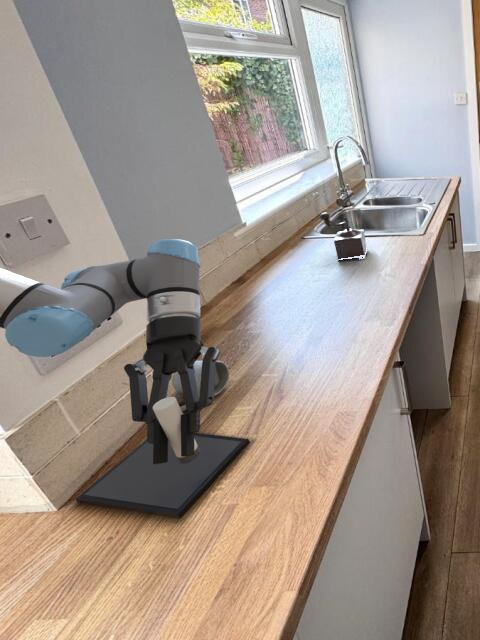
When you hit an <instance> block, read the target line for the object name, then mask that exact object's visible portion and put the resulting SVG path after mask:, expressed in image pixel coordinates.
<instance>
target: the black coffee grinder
mask: <svg viewBox="0 0 480 640" xmlns="http://www.w3.org/2000/svg"><path fill="white" fill-rule="evenodd" d="M330 216H331V214H330V213H329V212H326V211H325V212H322V213H321V214H320V215H319V219H320V220H321V221H322V222H323V223H324V225H325V226H327V227H328V228H335V227H339V226H340V227H341V226H343V225H345V227H346V228H345V229H344V230H342V231H338V232H337V233H336V235H335V237H334V239H333V243H334V247H335V251H336V257H337V261H338V263H346V262H355V261H362V260H361V259H360V260H359V258H352V259H343V260H338V259H341V258H348V257H354V256H360V255H365V252H366V247H367V248H368V246H367V240H366V234H365V230H364V228H362V229H355V228H351V226H349V220H348V217H347V216H345V217H343V220H344V221H342V222H339V223H335V224H331V223H332V221H331V220H330V219H331V217H330ZM362 258H363V257H362Z"/></svg>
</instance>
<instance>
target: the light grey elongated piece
mask: <svg viewBox="0 0 480 640" xmlns="http://www.w3.org/2000/svg"><path fill="white" fill-rule="evenodd" d="M180 407H181V406H180V405H179V401H178V402H177V400H176V398H175V397H173V396H166V398H164V399H162V400H160V401H158V402H157V403H155V404H154V406H153V410H154V412H155V414H156V416H157V418H158V420H159V422H160V424H161V426H162V428H163V430H164V432H165V434H166V436H167V438H168V440H169V442H170V444H171V446H172V448H173V450H174V452H175V454H176V456H177V458H178V460H179V462H180V463H182V464H186V463H189V462H191V461H193V460H195V459H196V458H197V457H198V456H199V455H200V449H199V447H198V445H197V443H196V441H195V439H194V455H191V456H183V457H181V415H182V414H184V412H183V411H181V408H180Z"/></svg>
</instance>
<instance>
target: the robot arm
mask: <svg viewBox="0 0 480 640" xmlns="http://www.w3.org/2000/svg"><path fill="white" fill-rule="evenodd" d="M147 249H148V250H147V252H146V256H143V257H142V256H141V257H138V258H135V259H130V260H124V261H119V262H113V263H107V264H102V265H91V266H88V267H86V268H83V269H78V270H74V271H71V272H69V273H68V274H67V275H66V276H64V281H63V282H62V283H61V286H60V289H59V288H57V287H54V286H51V285H48V284H45V283H44V282H43V283H42V282H40V281H38V280H34V279H32V278H29V277H27V276H24V275H21V274H19V273H15V272H12V271H9V270H7V269H4V268H2V267H0V329H3V330H5V331H4V337H5V339H6V342H7V343H8V345H10V346H11V347H14V348H15V349H17V351H18V352H19V353H21V354H24V355H26V356H31V357H36V358H47V357H48V358H49V357H54V356H58V355H61V354H63V353H65V352H67V351H68V350H70V349H72V348H73V347H75V346H76V345H78V344H79V343H81V342H82V341H85V339H86V338H87V337H89V336H90V335H91V334H92V333H93V332H94V331H95V330H96V328H98V327H100V325H102V324H103V323H104V322H105V321H106V320H108V319H109V318H111V316H112V315H114V314H115V313H116V312H117V311H119V310H120V309H121V308H122V307H123V306H125V305H126V304H129V303H132V302H136V301H139V300H145V299H146V321H147V322H148V323H147V324H146V328H145V329H146V330H145V335H146V336H145V345H146V350H145V352H144V353H143V355H142V358H141V359H139V360H137V361H136V362H133V363H127V364H125V365H124V367H123V371H125V373H126V375H127V377H128V380H129V394H130V395H129V396H130V407H131V408H130V409H131V420H132V421H133V422H138V423H145V424H146V440H147V442H148V444H152V443H153V464H161V463H165V462H168V438H167V436H166V434H165V432H164V430H163V428H162V426H161V424H160V422H159V420H158V418H157V416H156V414H155V412H154V410H153V406H154V404H155V403H157V402H158V401H160V400H162V399H164V398H167V397H168V389H169V386H170V385H169V384H170V382H171V381H172V378H173V375H174V373H175V372H178V374H179V375H180V380H181V385H182V390H183V394H182V395H183V400H184V405H185V406H186V410H184V411H183V412H186V413H183V414H182V415H181V457H183V456H191V455H194V433H199V432H200V430H201V412H202V411H203V410H204V409H206V408H208V407H211V406H212V405H213V404H214V400H215V399H214V398H215V396H214V384H215V370H216V361H218V359H219V358H220V355H221V350H220V349H218V348H216V347H214V346H210V347H208V346H205V345H204V344H203V342H202V340H201V339H202V325H201V323H202V322H201V320H200V319H199V318H201V316H202V315H201V297H200V296H201V295H200V294H201V293H200V292H201V291H200V268H201V264H200V258H199V257H200V255H199V250H198V248H197V246H196V245H195V244H193V243H192V242H190V241H188V240H184V239H178V238H165V239H159V240H156V241H155V242H153V243H150V244H149V245H148V248H147ZM200 356H201V359H202V360H201V361H202V371H201V383H200V395H199V394H198V390H197V385H196V380H195V375H194V374H195V369H194V363H195V361H198V359H199V358H200ZM148 366H149V367H150V368H151V369H152V376H151V378H152V384H151V390H150V395H149V392H148V381H147V375H146V374H145V373H147V372H148V370H147V367H148Z"/></svg>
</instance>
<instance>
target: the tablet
mask: <svg viewBox="0 0 480 640" xmlns="http://www.w3.org/2000/svg"><path fill="white" fill-rule="evenodd" d="M194 439H195V441H196V443H197V445H198V447H199V449H200V455H199V456H198V457H197V458H196V459H195V460H193V461H191V462H189V463H186V464H182V463H180V462H179V460H178V458H177V456H176V454H175V452H174V450H173V448H172V446H171V444H170V442H169V440H168V462H165V463H161V464H153V443H152V444H148V442H147V439H146V440H145V441H144V442H142V443H141V444H140V445H138V446H137V447H136V448H135V449H134V450H133V451H131V452H130V453H128V454H127V456H125V457H124V458H123V459H122V460H120V461H119V462H117V464H116V465H114V466H113V467H112V468H111V469H110V470H108V471H107V472H106V473H105V474H103V475H102V476H101V477H100V478H99V479H97V480H96V481H95V482H94V483H93V484H91V485H90V486H89V487H88V488H87V489H85V490H84V491H83V492H82V493H80V494H79V495H78V496H77V497H75V501H76V502H77V504H83V505H88V506H96V507H101V508H109V509H114V510H121V511H128V512H134V513H141V514H148V515H154V516H160V517H166V518H172V519H179V520H180V519H182V517H183V516H184V515H185V514H186V513H187V512H188V511H189V510H190V509H191V508H192V507H193V506H194V504H195V503H196V502H197V501H198V500H199V499H200V498H201V497H202V496H203V495H204V493H205V492H206V491H207V490H208V489H209V488H210V487H211V486H212V485H213V483H214V482H215V481H216V480H217V479H218V478H219V477H220V476H221V475H222V474H223V472H225V470H227V468H228V467H229V466H230V465H232V463H233V462H234V461H235V459H237V457H238V456H239V455H240V454H241V453H242V452H243V451H244V450H245V449H246V448H247V446H248V445H249V444H250V440H249V438H245V437H244V438H243V437H235V436H225V435H217V434H211V433H199V432H195V433H194Z"/></svg>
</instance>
